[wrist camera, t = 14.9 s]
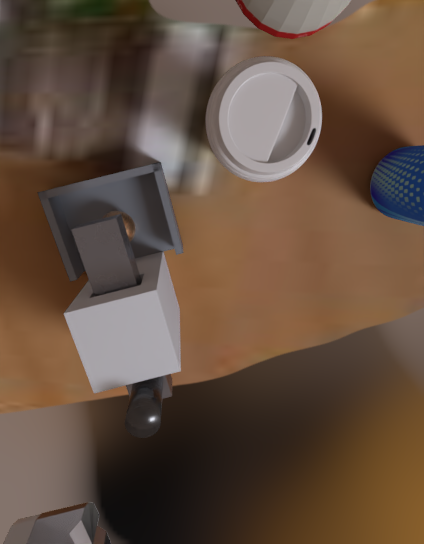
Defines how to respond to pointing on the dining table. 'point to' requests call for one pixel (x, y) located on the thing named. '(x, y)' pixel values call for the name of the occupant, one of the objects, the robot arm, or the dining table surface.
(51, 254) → the dining table surface
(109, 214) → the copper ball
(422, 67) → the dining table surface
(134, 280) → the shaft
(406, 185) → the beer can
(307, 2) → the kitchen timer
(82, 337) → the block
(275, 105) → the coffee cup
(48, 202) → the tray
